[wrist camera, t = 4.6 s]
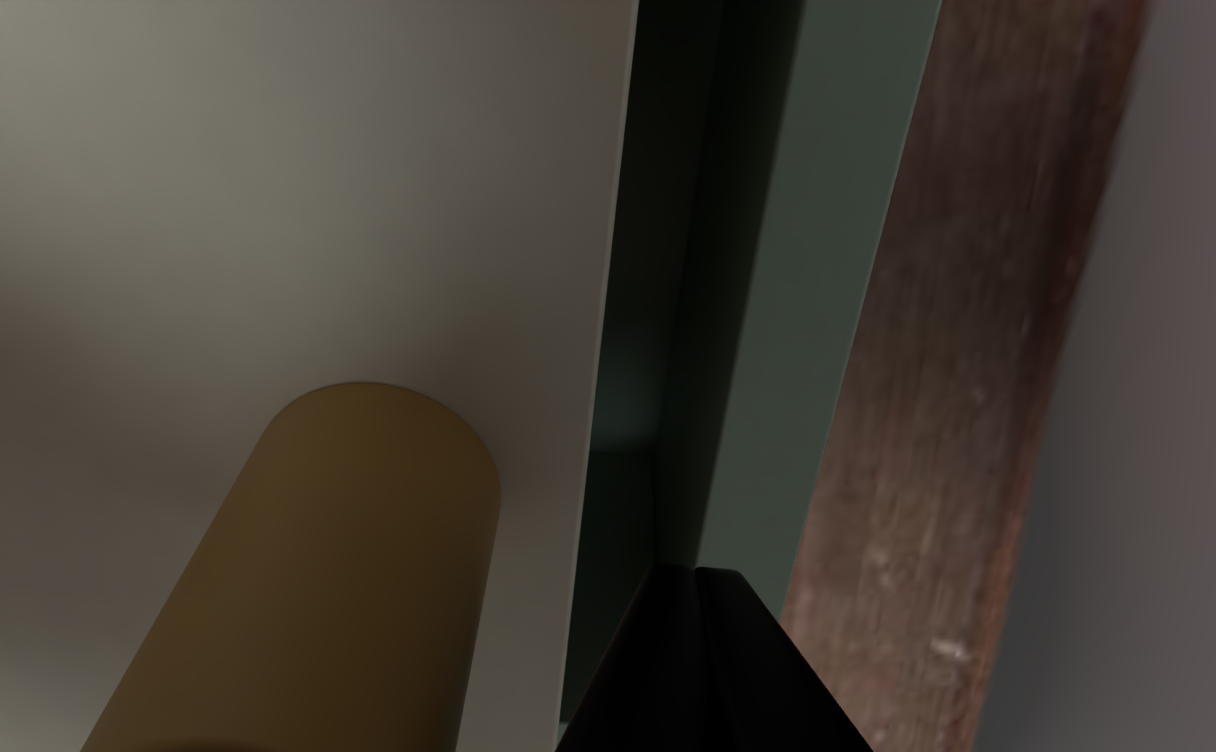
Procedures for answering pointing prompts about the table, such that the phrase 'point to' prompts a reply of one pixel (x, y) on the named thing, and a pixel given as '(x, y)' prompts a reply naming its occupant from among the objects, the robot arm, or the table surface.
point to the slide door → (299, 367)
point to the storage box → (735, 286)
